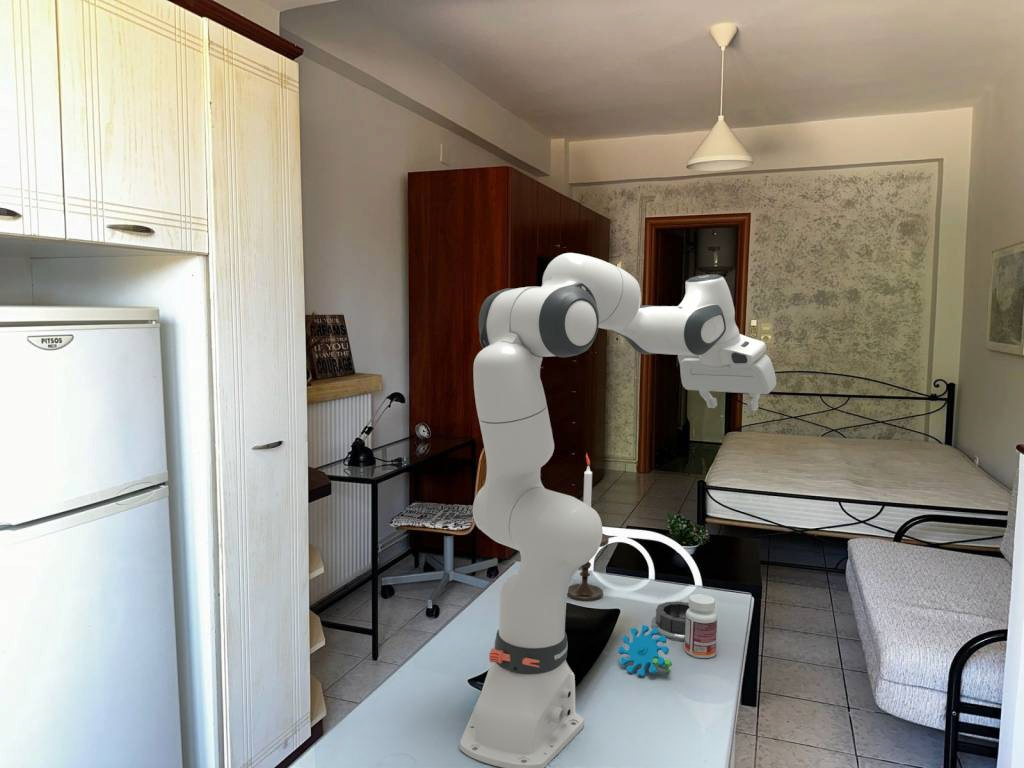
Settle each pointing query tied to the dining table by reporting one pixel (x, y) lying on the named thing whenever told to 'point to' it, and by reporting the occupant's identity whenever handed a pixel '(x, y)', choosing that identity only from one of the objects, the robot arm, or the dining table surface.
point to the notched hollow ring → (671, 620)
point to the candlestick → (584, 589)
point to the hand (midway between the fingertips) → (732, 408)
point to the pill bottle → (701, 626)
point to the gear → (645, 651)
